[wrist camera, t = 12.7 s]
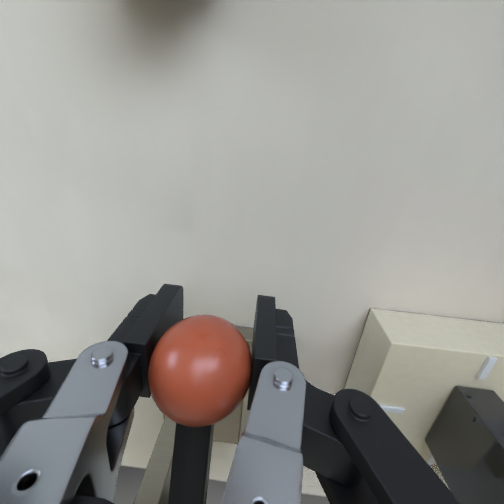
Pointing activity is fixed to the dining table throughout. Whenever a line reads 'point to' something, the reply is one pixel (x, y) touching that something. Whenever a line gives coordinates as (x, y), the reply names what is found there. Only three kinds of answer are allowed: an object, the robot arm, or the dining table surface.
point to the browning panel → (424, 366)
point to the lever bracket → (159, 467)
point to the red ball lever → (197, 394)
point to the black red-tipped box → (471, 445)
